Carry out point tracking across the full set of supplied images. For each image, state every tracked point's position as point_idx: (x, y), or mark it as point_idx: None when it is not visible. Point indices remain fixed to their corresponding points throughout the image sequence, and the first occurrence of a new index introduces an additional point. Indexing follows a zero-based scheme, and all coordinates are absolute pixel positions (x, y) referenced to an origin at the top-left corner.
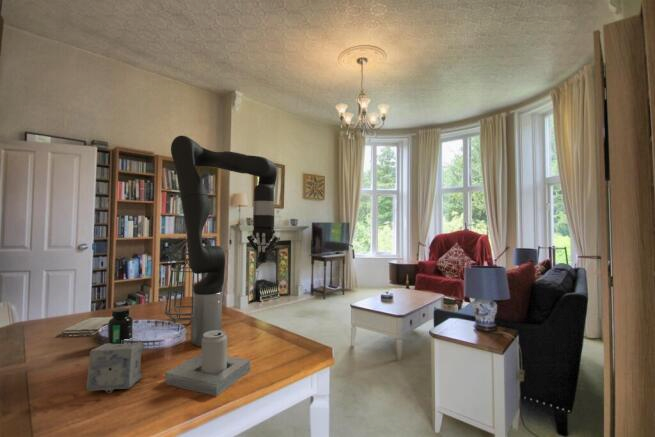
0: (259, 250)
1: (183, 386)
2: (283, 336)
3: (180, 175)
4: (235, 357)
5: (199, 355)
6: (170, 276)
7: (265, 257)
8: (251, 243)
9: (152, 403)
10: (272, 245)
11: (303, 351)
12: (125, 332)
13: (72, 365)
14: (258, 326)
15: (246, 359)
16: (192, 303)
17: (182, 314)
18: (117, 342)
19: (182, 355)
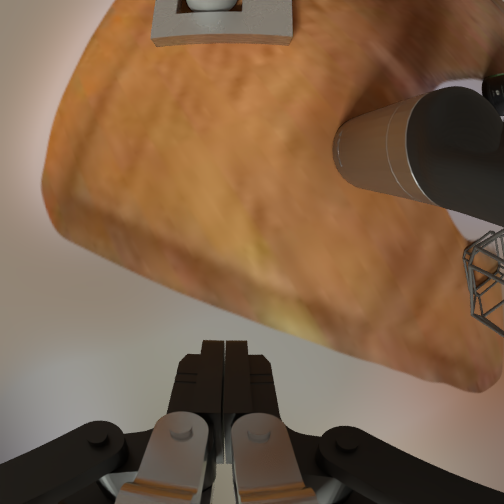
0: (255, 424)
1: None
2: (184, 262)
3: None
4: (192, 33)
5: (286, 16)
6: None
7: (177, 378)
8: (440, 482)
9: None
10: (16, 461)
11: (88, 188)
12: (501, 81)
13: (476, 17)
14: (298, 307)
15: (160, 36)
16: (496, 256)
17: (493, 236)
18: (492, 75)
19: (361, 63)
